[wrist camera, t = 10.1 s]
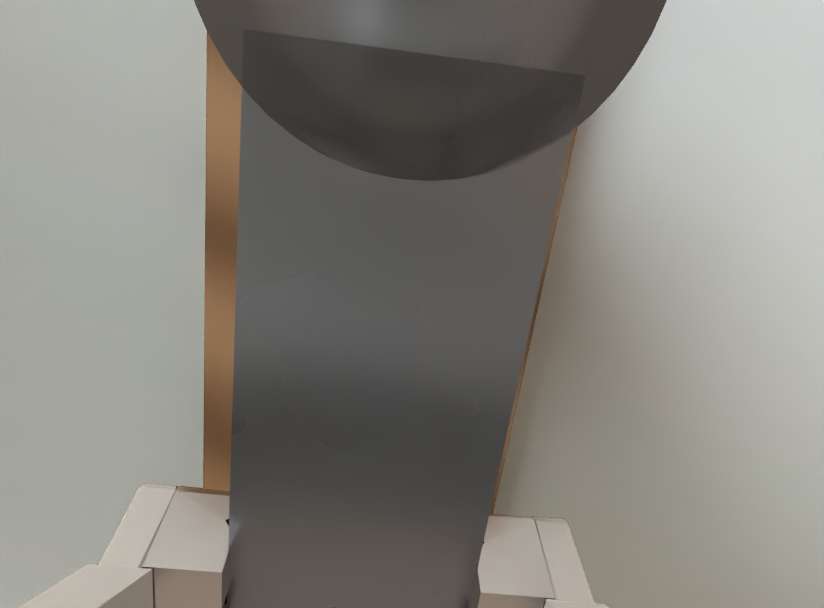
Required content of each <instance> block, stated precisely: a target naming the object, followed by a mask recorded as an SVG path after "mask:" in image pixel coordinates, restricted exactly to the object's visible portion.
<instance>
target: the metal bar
mask: <svg viewBox="0 0 824 608" xmlns="http://www.w3.org/2000/svg"><path fill="white" fill-rule="evenodd" d="M194 1H195V4H196V6H197V9H198V11H199V13H200V16H201V18H202V20H203V23H204V25H205V27H206V29H207V32H208V34H209V36H210V38H211V40H212V42H213V43H214V45H215V47H216V48H217V50H218V52H219V54H220V55H221V57H222V59H223V61H224V62H225V64H226V66H227V67H228V68H229V70H230V71H231V72H232V74H233V75H234V77H235V78H236V79H237V81H238V82H239V83H240V85H241V86H242V95H241V129H240V163H239V198H238V232H237V266H236V301H235V335H234V369H233V404H232V438H231V472H230V507H229V541H228V544H231V563H230V585H229V588H228V592H227V606H228V607H229V608H469V603H468V599H469V595H470V590H471V586H472V582H473V577H474V573H475V568H476V564H479V560H480V555H481V550H482V546H483V541H484V537H485V532H486V528H487V523H488V518H489V514H490V509H491V505H492V500H493V496H494V491H495V486H496V482H497V477H498V473H499V468H500V464H501V459H502V455H503V450H504V445H505V441H506V436H507V432H508V427H509V423H510V418H511V413H512V409H513V404H514V400H515V395H516V391H517V386H518V382H519V377H520V372H521V368H522V363H523V359H524V354H525V350H526V345H527V340H528V336H529V331H530V327H531V322H532V318H533V313H534V308H535V304H536V299H537V295H538V290H539V286H540V281H541V277H542V272H543V267H544V263H545V258H546V254H547V249H548V245H549V240H550V235H551V231H552V226H553V222H554V217H555V213H556V208H557V204H558V199H559V194H560V190H561V185H562V181H563V176H564V172H565V167H566V162H567V158H568V153H569V149H570V144H571V140H572V135H573V130H574V129H575V128H576V127H577V126H578V125H579V124H581V123H582V122H583V121H584V120H585V119H587V118H588V117H589V116H590V115H591V114H593V113H594V111H595V110H596V109H597V108H598V107H599V106H600V105H601V104H602V103H603V102H604V101H605V100H606V99H607V98H608V97H609V96H610V95H611V93H612V92H613V91H614V90H615V89H616V88H617V86H618V85H619V84H620V82H621V81H622V80H623V78H624V77H625V76H626V74H627V73H628V72H629V70H630V69H631V68H632V66H633V65H634V63H635V62H636V60H637V58H638V57H639V55H640V53H641V51H642V50H643V48H644V46H645V45H646V43H647V41H648V39H649V38H650V36H651V34H652V32H653V30H654V28H655V25H656V23H657V21H658V18H659V16H660V14H661V12H662V9H663V7H664V5H665V3H666V0H194Z"/></svg>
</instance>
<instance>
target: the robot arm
mask: <svg viewBox="0 0 824 608" xmlns="http://www.w3.org/2000/svg"><path fill="white" fill-rule="evenodd" d="M229 507H230V491H222V490H213V489H204V488H194V487H185V486H180V487H178V486H171V485H161V484H152V483H144V484H143V485H142V486H141V487H140V488H139V489H138V490H137V492H136V493H135V495H134V497H133V499H132V501H131V503H130V505H129V507H128V509H127V511H126V512H125V514H124V516H123V518H122V520H121V522H120V524H119V526H118V528H117V530H116V531H115V533H114V535H113V537H112V539H111V541H110V543H109V545H108V547H107V549H106V550H105V552H104V554H103V556H102V558H101V560H100V562H99V564H98V565H96V564H86V565H85V566H83V567H81V568H80V569H78V570H77V571H75V572H74V573H72V574H70V575H69V576H67V577H66V578H64V579H62V580H61V581H59V582H58V583H56V584H55V585H53V586H51V587H50V588H48V589H47V590H45V591H43V592H42V593H40V594H39V595H37V596H36V597H34V598H32V599H31V600H29V601H28V602H26V603H25V604H23V605H21V606H20V607H18V608H229V607H228V606H227V592H228V588H229V585H230V563H231V544H228V541H229ZM468 603H469V608H609V607H608V606H607V605H606V604H601V603H595V601H594V598H593V595H592V592H591V589H590V586H589V583H588V580H587V577H586V574H585V571H584V568H583V565H582V562H581V559H580V556H579V553H578V551H577V548H576V545H575V542H574V539H573V536H572V533H571V530H570V527H569V524H568V523H567V521H566V520H565V519H562V518H546V517H531V518H530V517H521V516H508V515H495V514H489V518H488V523H487V528H486V532H485V537H484V541H483V546H482V550H481V555H480V560H479V564H476V568H475V573H474V577H473V582H472V586H471V590H470V595H469V599H468Z"/></svg>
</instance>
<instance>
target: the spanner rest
mask: <svg viewBox="0 0 824 608" xmlns="http://www.w3.org/2000/svg"><path fill="white" fill-rule="evenodd" d="M241 95H242V86H241V85H240V83H239V82H238V81H237V79H236V78H235V77H234V75H233V74H232V72H231V71H230V70H229V68H228V67H227V66H226V64H225V62H224V61H223V59H222V57H221V55H220V54H219V52H218V50H217V48H216V47H215V45H214V43H213V42H212V40H211V38H210V36H209V34H208V32H207V96H206V218H205V341H204V463H203V488H204V489H213V490H222V491H230V472H231V438H232V404H233V369H234V335H235V301H236V266H237V232H238V198H239V163H240V129H241ZM576 130H577V127H576V128H575V129H574V130H573V135H572V140H571V144H570V149H569V153H568V158H567V162H566V167H565V172H564V176H563V181H562V185H561V190H560V194H559V199H558V204H557V208H556V213H555V217H554V222H553V226H552V231H551V235H550V240H549V245H548V249H547V254H546V258H545V263H544V267H543V272H542V277H541V281H540V286H539V290H538V295H537V299H536V304H535V308H534V313H533V318H532V322H531V327H530V331H529V336H528V340H527V345H526V350H525V354H524V359H523V363H522V368H521V372H520V377H519V382H518V386H517V391H516V395H515V400H514V404H513V409H512V413H511V418H510V423H509V427H508V432H507V436H506V441H505V445H504V450H503V455H502V459H501V464H500V468H499V473H498V477H497V482H496V486H495V491H494V496H493V500H492V505H491V509H490V514H493V510H494V505H495V501H496V496H497V492H498V487H499V483H500V478H501V473H502V469H503V464H504V460H505V455H506V451H507V446H508V441H509V437H510V432H511V428H512V423H513V419H514V414H515V409H516V405H517V400H518V396H519V391H520V387H521V382H522V377H523V373H524V368H525V364H526V359H527V354H528V350H529V345H530V341H531V336H532V332H533V327H534V322H535V318H536V313H537V309H538V304H539V300H540V295H541V290H542V286H543V281H544V277H545V272H546V268H547V263H548V258H549V254H550V249H551V245H552V240H553V236H554V231H555V226H556V222H557V217H558V213H559V208H560V204H561V199H562V194H563V190H564V185H565V181H566V176H567V172H568V167H569V162H570V158H571V153H572V149H573V144H574V140H575V135H576Z"/></svg>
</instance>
